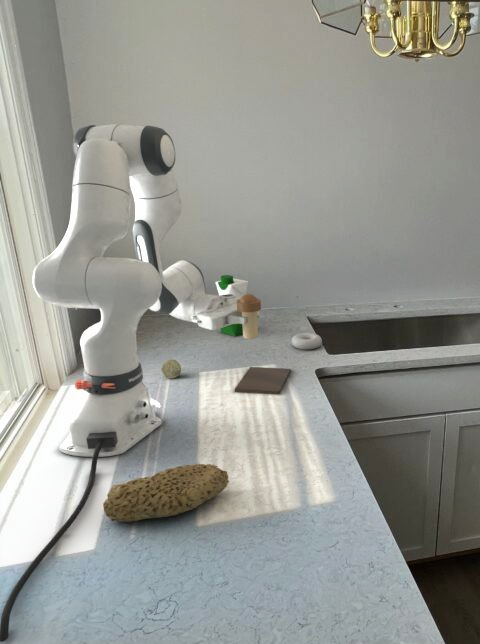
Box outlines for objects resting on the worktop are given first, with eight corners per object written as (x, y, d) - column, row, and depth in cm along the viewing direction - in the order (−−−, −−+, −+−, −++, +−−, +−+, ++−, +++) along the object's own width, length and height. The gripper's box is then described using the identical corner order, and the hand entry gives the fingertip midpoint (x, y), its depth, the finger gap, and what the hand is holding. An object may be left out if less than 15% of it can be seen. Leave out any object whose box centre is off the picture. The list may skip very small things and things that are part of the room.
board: (279, 394, 148) (279, 391, 148) (234, 391, 149) (234, 389, 148) (290, 371, 163) (290, 368, 163) (250, 369, 164) (250, 366, 163)
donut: (287, 349, 180) (316, 352, 178) (286, 339, 179) (316, 342, 177) (297, 340, 189) (326, 342, 187) (297, 330, 188) (325, 332, 186)
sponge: (108, 540, 95) (224, 512, 96) (94, 499, 93) (212, 470, 95) (132, 506, 108) (234, 481, 109) (120, 469, 106) (224, 444, 107)
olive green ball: (183, 377, 157) (182, 360, 155) (166, 381, 154) (164, 364, 152) (178, 372, 160) (176, 356, 158) (161, 376, 157) (159, 359, 155)
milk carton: (216, 332, 193) (212, 275, 186) (236, 326, 200) (232, 271, 193) (235, 337, 189) (230, 279, 181) (254, 331, 196) (250, 275, 188)
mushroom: (259, 340, 154) (257, 297, 149) (236, 339, 154) (233, 296, 149) (264, 333, 159) (262, 291, 155) (242, 332, 160) (239, 290, 155)
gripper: (185, 308, 150) (226, 316, 144) (235, 292, 167) (273, 299, 162) (188, 330, 152) (228, 339, 147) (236, 312, 169) (274, 319, 164)
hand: (252, 318), depth 154 cm, fingers closed on mushroom, 4 cm apart
